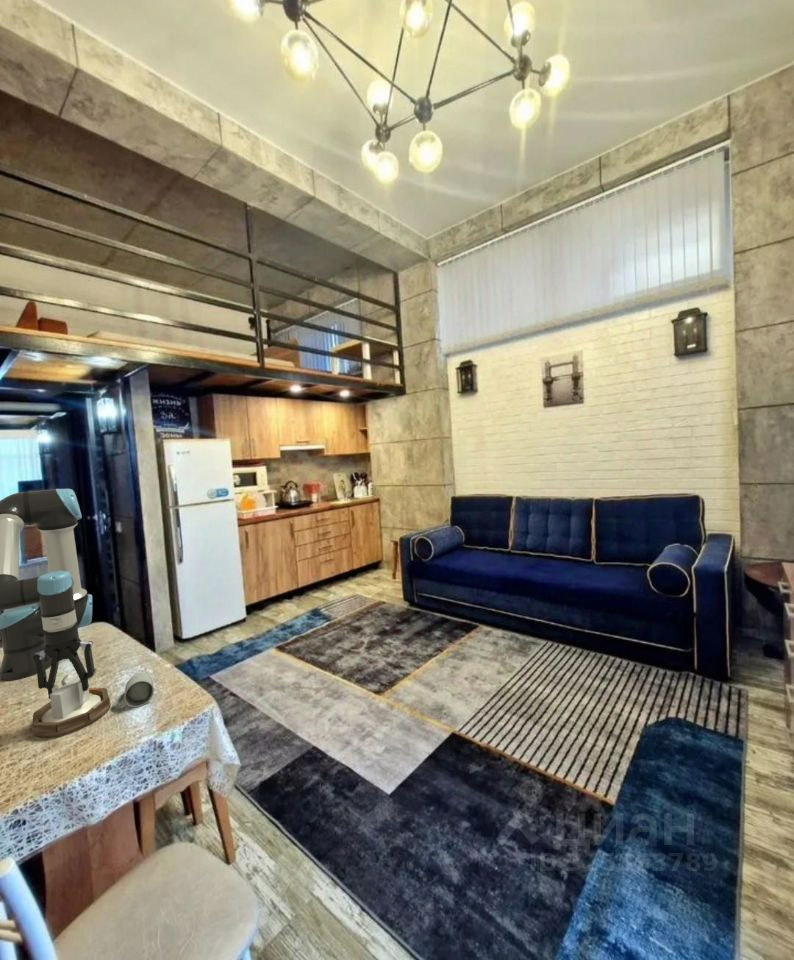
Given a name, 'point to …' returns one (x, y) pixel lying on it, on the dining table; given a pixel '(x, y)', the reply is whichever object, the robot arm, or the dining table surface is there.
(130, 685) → the ceramic mug
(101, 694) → the dial housing
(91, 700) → the dial
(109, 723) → the dining table surface
